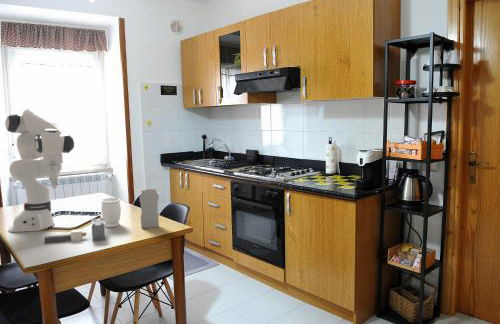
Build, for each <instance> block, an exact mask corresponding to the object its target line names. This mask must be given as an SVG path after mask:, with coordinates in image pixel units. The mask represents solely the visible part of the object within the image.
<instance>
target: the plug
mask: <svg viewBox="0 0 500 324" xmlns="http://www.w3.org/2000/svg"><path fill="white" fill-rule="evenodd" d="M84 237H87V232H86V231H85V232H83V228H80V229H79V228H78V229H72V230H70V234H69V233H68V234H58V235H57V234H56V235H48V236H47V235H46V236H44V238H43V240H44V241H43V242H44V244H54V243H55V244H56V243H64V242H77V241H83V238H84Z"/></svg>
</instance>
